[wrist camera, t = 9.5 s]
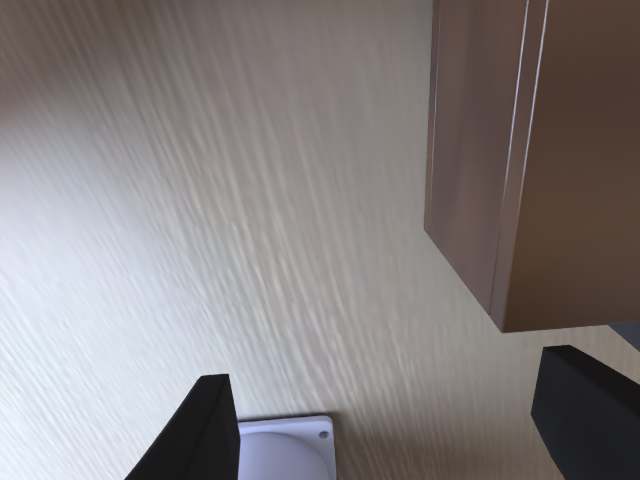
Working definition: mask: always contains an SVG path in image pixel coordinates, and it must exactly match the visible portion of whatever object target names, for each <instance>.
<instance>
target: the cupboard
mask: <svg viewBox="0 0 640 480" xmlns="http://www.w3.org/2000/svg"><path fill="white" fill-rule="evenodd" d="M424 230H425V232H426V233H427V234H428V236H429V237H430V238H431V240H432V241H433V242H434V244H435V245H436V246H437V248H438V249H439V250H440V252H441V253H442V254H443V256H444V257H445V258H446V260H447V261H448V262H449V264H450V265H451V266H452V268H453V269H454V270H455V272H456V273H457V274H458V276H459V277H460V278H461V279H462V281H463V282H464V283H465V285H466V286H467V287H468V289H469V290H470V291H471V293H472V294H473V295H474V297H475V298H476V299H477V301H478V302H479V303H480V305H481V306H482V307H483V309H484V310H485V311H486V313H487V314H488V315H489V316H490V318H491V320H492V321H493V322H494V324H495V325H496V326H497V328H498V329H499V330H500V332H502V333H512V332H524V331H536V330H548V329H560V328H573V327H585V326H597V325H609V324H621V323H633V322H640V0H434V2H433V26H432V49H431V73H430V97H429V120H428V144H427V167H426V191H425V214H424Z"/></svg>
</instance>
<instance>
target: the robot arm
mask: <svg viewBox="0 0 640 480" xmlns="http://www.w3.org/2000/svg"><path fill="white" fill-rule="evenodd" d="M531 416H532V418H533V420H534V422H535V425H536V427H537V429H538V431H539V433H540V435H541V437H542V439H543V441H544V443H545V445H546V447H547V449H548V451H549V453H550V455H551V457H552V459H553V461H554V462H555V464H556V466H557V467H558V469H559V470H560V472H561V473H562V475H563V477H564V478H565V480H640V385H639V384H637V383H636V382H634V381H632V380H631V379H629V378H627V377H626V376H624V375H622V374H620V373H619V372H617V371H615V370H614V369H612V368H610V367H609V366H607V365H605V364H603V363H602V362H600V361H598V360H596V359H595V358H593V357H591V356H589V355H588V354H586V353H584V352H582V351H580V350H578V349H577V348H575V347H573V346H571V345H561V346H549V347H543V351H542V356H541V362H540V367H539V372H538V378H537V383H536V388H535V394H534V399H533V404H532V410H531ZM323 431H326V432H323ZM124 480H336V465H335V449H334V433H333V422H332V419H331V418H330V417H328V416H311V417H300V418H288V419H277V420H266V421H254V422H243V423H238V422H237V416H236V411H235V406H234V400H233V395H232V389H231V384H230V379H229V374H217V375H205V376H201V377H200V378H199V379H198V380H197V381H196V383H195V384H194V386H193V387H192V389H191V390H190V392H189V393H188V395H187V396H186V398H185V399H184V400H183V402H182V403H181V405H180V406H179V408H178V409H177V411H176V412H175V413H174V415H173V416H172V418H171V419H170V420H169V422H168V423H167V425H166V426H165V427H164V429H163V430H162V431H161V433H160V434H159V435H158V437H157V438H156V439H155V441H154V442H153V443H152V445H151V446H150V447H149V449H148V450H147V451H146V453H145V454H144V455H143V457H142V458H141V459H140V461H139V462H138V463H137V464H136V466H135V467H134V468H133V469H132V471H131V472H130V473H129V474H128V476H127V477H126V478H125V479H124Z"/></svg>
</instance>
